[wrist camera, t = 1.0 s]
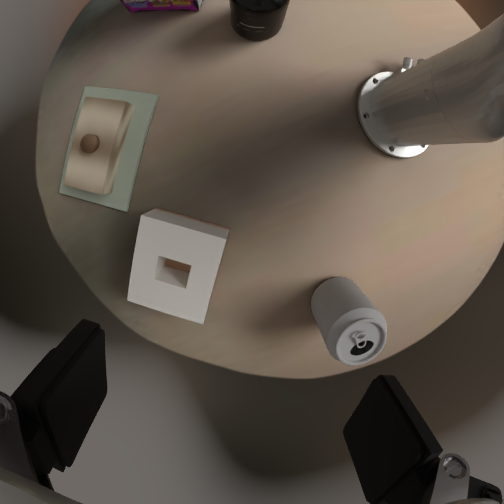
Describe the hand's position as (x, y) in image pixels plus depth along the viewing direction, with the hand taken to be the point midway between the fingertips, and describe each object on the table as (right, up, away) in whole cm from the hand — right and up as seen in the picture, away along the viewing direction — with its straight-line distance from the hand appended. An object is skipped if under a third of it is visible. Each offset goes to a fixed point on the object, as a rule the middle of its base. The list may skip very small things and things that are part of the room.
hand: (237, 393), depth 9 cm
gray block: (-9, +4, +29) cm, 31 cm away
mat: (-20, +19, +25) cm, 37 cm away
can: (+12, -2, +32) cm, 34 cm away
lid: (-20, +19, +24) cm, 37 cm away
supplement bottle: (+1, +35, +21) cm, 41 cm away
